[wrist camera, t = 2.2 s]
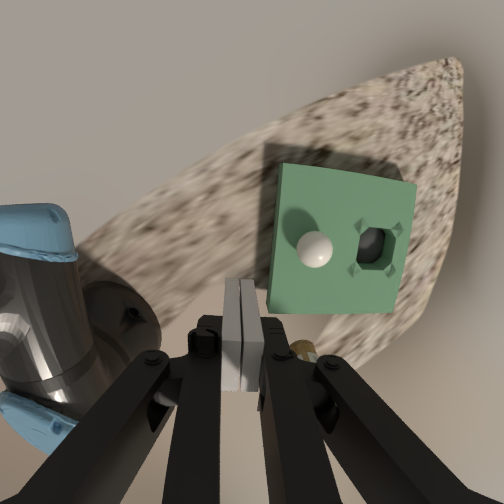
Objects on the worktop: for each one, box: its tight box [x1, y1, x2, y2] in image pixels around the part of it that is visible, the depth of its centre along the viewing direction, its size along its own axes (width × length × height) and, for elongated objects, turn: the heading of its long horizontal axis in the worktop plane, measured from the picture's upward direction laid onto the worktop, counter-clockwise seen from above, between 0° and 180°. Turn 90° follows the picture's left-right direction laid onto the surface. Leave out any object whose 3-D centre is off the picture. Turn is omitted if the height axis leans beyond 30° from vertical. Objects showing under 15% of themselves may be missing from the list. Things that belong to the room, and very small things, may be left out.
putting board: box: [266, 163, 417, 314], centre depth 34 cm, size 18×18×3 cm
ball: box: [297, 231, 333, 268], centre depth 30 cm, size 4×4×4 cm
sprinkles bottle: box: [289, 340, 319, 363], centre depth 33 cm, size 5×5×14 cm
